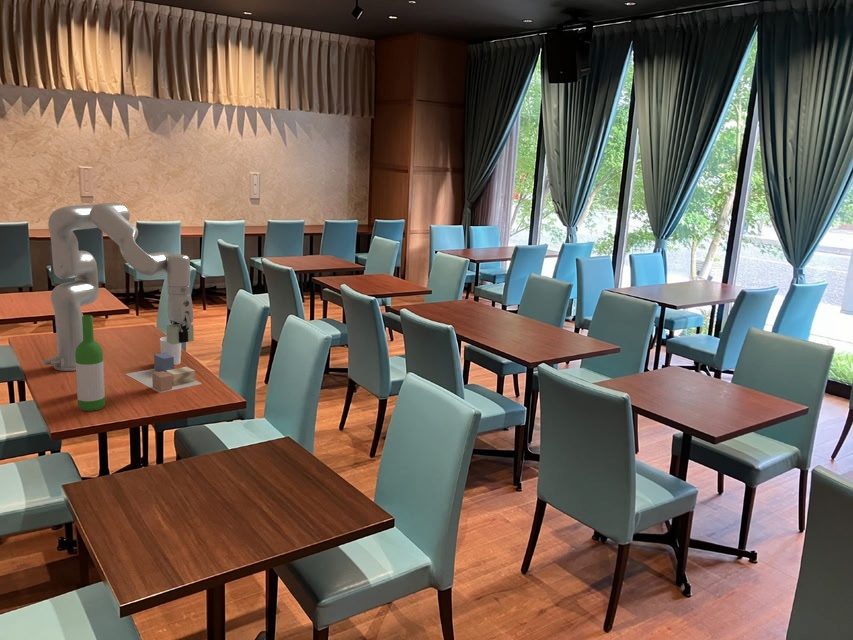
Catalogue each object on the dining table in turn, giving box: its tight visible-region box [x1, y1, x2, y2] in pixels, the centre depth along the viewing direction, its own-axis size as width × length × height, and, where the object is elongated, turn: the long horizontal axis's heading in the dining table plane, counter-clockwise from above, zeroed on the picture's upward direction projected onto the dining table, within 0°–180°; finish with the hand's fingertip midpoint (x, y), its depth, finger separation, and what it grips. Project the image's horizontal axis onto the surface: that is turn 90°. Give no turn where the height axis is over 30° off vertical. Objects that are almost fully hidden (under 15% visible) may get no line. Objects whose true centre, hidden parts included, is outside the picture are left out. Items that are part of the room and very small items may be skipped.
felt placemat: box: [125, 368, 203, 394], centre depth 248 cm, size 16×26×1 cm, turn 48°
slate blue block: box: [153, 352, 175, 372], centre depth 256 cm, size 7×4×6 cm, turn 48°
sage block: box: [165, 323, 195, 344], centre depth 243 cm, size 8×4×6 cm, turn 138°
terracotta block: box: [152, 371, 172, 391], centre depth 238 cm, size 4×6×5 cm, turn 48°
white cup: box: [159, 336, 182, 366], centre depth 266 cm, size 8×8×10 cm
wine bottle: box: [75, 314, 106, 412], centre depth 214 cm, size 8×8×30 cm
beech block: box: [166, 366, 196, 385], centre depth 246 cm, size 8×6×4 cm
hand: (180, 340), depth 243 cm, fingers closed on sage block, 4 cm apart
